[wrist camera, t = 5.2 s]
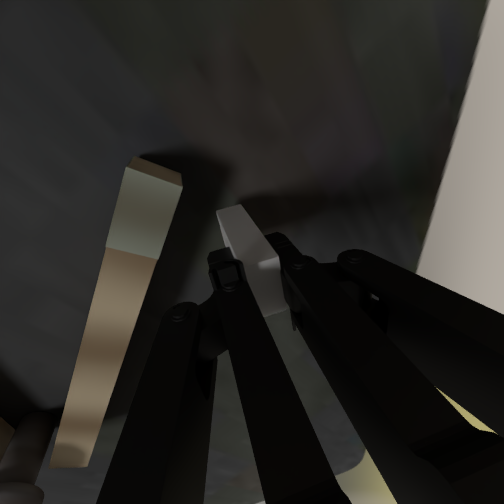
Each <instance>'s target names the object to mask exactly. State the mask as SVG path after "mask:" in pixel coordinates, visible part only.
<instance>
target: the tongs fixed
mask: <svg viewBox="0 0 504 504" xmlns="http://www.w3.org/2000/svg"><path fill="white" fill-rule="evenodd" d="M56 423H57V418H56V417H55V416H54V415H53V414H51V413H47V412H33V413H29V414H27V415H25V416H24V417H23V418H22V419H21V420H20V422H19V425H18V427H17V429H16V431H15V429H14V428H13V427H12V426H10V425H9V424H8V423H7V422H6V421H5V420H3V419H2V418H1V417H0V461H1V462H0V504H42V502H43V499H44V492H43V491H42V489H40V488H39V487H37V486H35V485H34V484H35V482H36V479H37V476H38V473H39V470H40V468H41V465H42V462H43V459H44V457H45V454H46V451H47V448H48V445H49V443H50V440H51V437H52V434H53V432H54V429H55V426H56ZM14 432H15V433H14ZM13 434H14V435H13ZM12 436H13V437H12ZM11 438H12V439H11ZM10 440H11V441H10ZM9 442H10V443H9ZM7 447H8V448H7ZM6 449H7V450H6ZM5 451H6V452H5ZM4 453H5V454H4ZM3 455H4V456H3ZM2 457H3V458H2ZM1 459H2V460H1Z"/></svg>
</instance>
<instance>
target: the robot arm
mask: <svg viewBox="0 0 504 504" xmlns="http://www.w3.org/2000/svg"><path fill="white" fill-rule="evenodd" d="M216 213H217V217H218V220H219V224H220V228H221V232H222V235H223V239H224V243H225V246H226V248H223V249H219V250H216V251H212V252H210V253H209V255H208V258H207V260H208V264H209V268H210V269H209V273H208V274H209V277H210V280H211V283H212V286H213V289H214V292H213V294H212V295H211V297H210V298H209V299H208V300H206V301H205V302H203V303H202V304H200V305H197V304H196V303H193V302H183V303H179V304H177V305H175V306H173V307H171V308H170V309H169V310H168V311H167V312H166V313H165V315H164V316H163V318H162V321H161V324H160V327H159V330H158V332H157V335H156V338H155V341H154V343H153V346H152V349H151V352H150V355H149V357H148V360H147V363H146V366H145V368H144V371H143V374H142V377H141V380H140V382H139V385H138V388H137V391H136V394H135V396H134V399H133V402H132V405H131V407H130V410H129V413H128V416H127V419H126V421H125V424H124V427H123V430H122V433H121V435H120V438H119V441H118V444H117V446H116V449H115V452H114V455H113V458H112V460H111V463H110V466H109V469H108V471H107V474H106V477H105V480H104V483H103V485H102V488H101V491H100V494H99V497H98V499H97V502H96V504H203V502H204V492H205V482H206V472H207V462H208V452H209V442H210V432H211V421H212V411H213V401H214V391H215V381H216V371H217V361H218V360H217V356H218V355H220V354H221V353H223V352H224V351H226V350H227V349H228V350H229V354H230V358H231V363H232V367H233V371H234V375H235V379H236V383H237V387H238V391H239V396H240V400H241V404H242V408H243V412H244V416H245V420H246V424H247V428H248V433H249V437H250V441H251V445H252V449H253V453H254V457H255V461H256V465H257V470H258V474H259V478H260V482H261V486H262V490H263V494H264V498H265V503H266V504H352V503H351V501H350V500H349V498H348V497H347V496H346V494H345V493H344V492H343V491H342V490H341V488H340V486H339V484H338V482H337V480H336V478H335V476H334V474H333V471H332V469H331V467H330V465H329V463H328V460H327V458H326V456H325V454H324V451H323V449H322V447H321V445H320V442H319V440H318V438H317V436H316V433H315V431H314V429H313V427H312V424H311V422H310V420H309V418H308V416H307V413H306V411H305V409H304V407H303V404H302V402H301V400H300V398H299V395H298V393H297V391H296V389H295V386H294V384H293V382H292V380H291V378H290V375H289V373H288V371H287V369H286V366H285V364H284V362H283V360H282V357H281V355H280V353H279V351H278V348H277V346H276V344H275V342H274V339H273V337H272V335H271V333H270V331H269V328H268V326H267V324H266V322H265V319H264V317H267V316H270V315H273V314H276V313H279V312H282V311H285V310H287V306H286V302H287V304H288V305H289V307H290V313H291V319H292V326H293V330H294V331H295V330H296V326H297V328H298V330H299V331H300V333H301V335H302V337H303V338H304V340H305V342H306V344H307V345H308V347H309V349H310V351H311V353H312V354H313V356H314V358H315V360H316V361H317V363H318V365H319V367H320V368H321V370H322V372H323V374H324V375H325V377H326V379H327V381H328V382H329V384H330V386H331V388H332V389H333V391H334V393H335V395H336V396H337V398H338V400H339V402H340V403H341V405H342V407H343V409H344V410H345V412H346V414H347V416H348V417H349V419H350V421H351V423H352V424H353V426H354V428H355V430H356V432H357V433H358V435H359V437H360V439H361V440H362V442H363V444H364V446H365V447H366V449H367V451H368V453H369V454H370V456H371V458H372V459H373V461H374V463H375V465H376V466H377V468H378V470H379V472H380V473H381V475H382V477H383V479H384V481H385V482H386V484H387V486H388V488H389V489H390V491H391V493H392V495H393V496H394V498H395V500H396V502H397V504H504V315H503V314H501V313H499V312H497V311H495V310H493V309H490V308H488V307H486V306H484V305H482V304H480V303H478V302H475V301H473V300H471V299H469V298H467V297H465V296H462V295H460V294H458V293H456V292H454V291H452V290H449V289H447V288H445V287H443V286H441V285H439V284H436V283H434V282H432V281H430V280H428V279H426V278H423V277H421V276H419V275H417V274H415V273H413V272H411V271H408V270H406V269H404V268H402V267H400V266H398V265H395V264H393V263H391V262H389V261H387V260H385V259H382V258H380V257H378V256H376V255H374V254H372V253H369V252H367V251H364V250H359V249H352V250H346V251H343V252H342V253H340V254H339V255H338V257H337V262H333V263H318V262H317V261H316V260H315V259H314V258H312V257H310V256H306V255H302V254H301V253H300V252H299V250H298V249H297V248H296V247H295V246H294V245H293V244H292V243H291V241H290V240H289V239H288V238H287V237H286V236H285V235H284V234H281V233H279V232H275V233H272V234H268V235H265V236H264V235H263V234H262V233H261V231H260V230H259V229H258V227H257V226H256V224H255V223H254V222H253V220H252V219H251V217H250V216H249V215H248V213H247V212H246V211H245V209H244V208H243V206H242V205H241V204H239V205H235V206H231V207H228V208H224V209H220V210H217V211H216ZM372 294H374V295H375V296H377V297H379V301H378V300H375V299H374V298H372ZM295 325H296V326H295ZM436 387H437V388H438V389H439V390H441V391H442V392H443V393H444V394H446V395H447V396H448V397H450V398H451V399H452V400H454V401H455V402H456V403H458V404H459V405H460V406H461V407H463V408H464V409H465V410H467V411H468V412H469V413H471V414H472V415H473V416H475V417H476V418H477V419H479V420H480V421H481V422H482V423H484V424H485V425H486V426H488V427H489V428H490V429H492V430H493V431H494V432H496V433H497V434H498V435H497V434H496V433H494V432H488V431H482V430H479V429H477V428H475V427H474V426H472V425H471V424H470V423H469V422H468V421H467V420H466V419H465V418H464V417H463V416H462V415H461V414H460V413H459V412H458V411H457V410H456V409H455V408H454V406H453V405H452V404H450V402H449V401H448V400H447V399H446V398H445V397H444V396H443V395H442V394H441V393H440V392H439V391H438V389H436Z"/></svg>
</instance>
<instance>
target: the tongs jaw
mask: <svg viewBox="0 0 504 504" xmlns="http://www.w3.org/2000/svg"><path fill="white" fill-rule="evenodd" d="M182 189H183V184H182V178H181V173H178V172H176V171H173V170H171V169H168V168H165V167H163V166H160V165H157V164H155V163H152V162H149V161H147V160H144V159H141V158H139V157H136V156H134V157H133V158H132V159H131V161H130V162H129V163H128V165H127V166H126V169H125V173H124V177H123V181H122V184H121V188H120V192H119V196H118V200H117V204H116V207H115V211H114V215H113V219H112V223H111V227H110V231H109V234H108V238H107V242H106V246H105V247H106V251H105V255H104V259H103V262H102V266H101V270H100V274H99V278H98V281H97V285H96V289H95V293H94V297H93V301H92V304H91V308H90V312H89V316H88V320H87V323H86V327H85V331H84V335H83V339H82V343H81V346H80V350H79V354H78V358H77V362H76V365H75V369H74V373H73V377H72V381H71V385H70V388H69V392H68V396H67V400H66V404H65V407H64V411H63V415H62V419H61V423H60V427H59V430H58V434H57V438H56V442H55V446H54V449H53V453H52V457H51V461H50V465H49V469H50V468H72V467H87V465H88V462H89V459H90V456H91V453H92V450H93V448H94V445H95V442H96V439H97V436H98V433H99V430H100V427H101V424H102V421H103V418H104V415H105V412H106V409H107V406H108V403H109V400H110V397H111V394H112V391H113V389H114V386H115V383H116V380H117V377H118V374H119V371H120V368H121V365H122V362H123V359H124V356H125V353H126V350H127V347H128V344H129V341H130V338H131V335H132V332H133V329H134V327H135V324H136V321H137V318H138V315H139V312H140V309H141V306H142V303H143V300H144V297H145V294H146V291H147V288H148V285H149V282H150V279H151V276H152V273H153V270H154V267H155V265H156V262H157V259H159V256H160V253H161V250H162V247H163V245H164V242H165V239H166V236H167V233H168V230H169V227H170V224H171V221H172V218H173V215H174V212H175V209H176V206H177V203H178V200H179V198H180V195H181V192H182Z"/></svg>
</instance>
